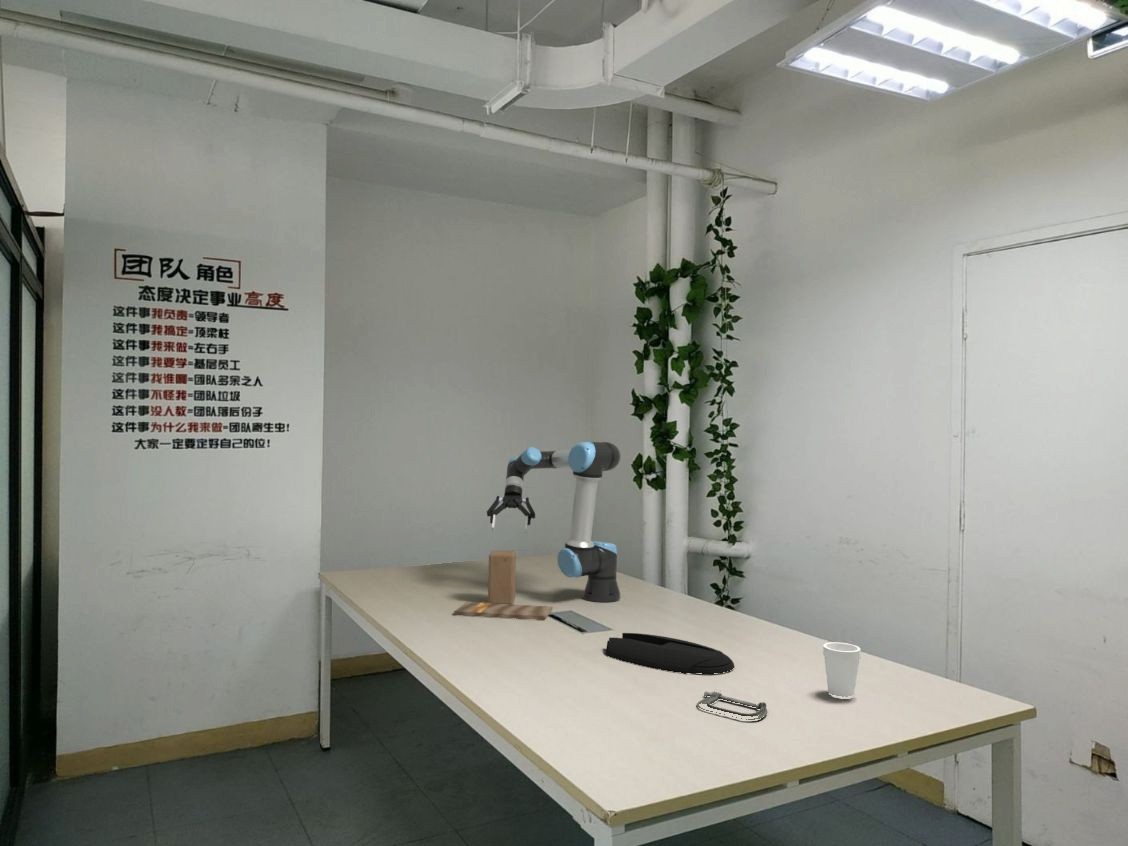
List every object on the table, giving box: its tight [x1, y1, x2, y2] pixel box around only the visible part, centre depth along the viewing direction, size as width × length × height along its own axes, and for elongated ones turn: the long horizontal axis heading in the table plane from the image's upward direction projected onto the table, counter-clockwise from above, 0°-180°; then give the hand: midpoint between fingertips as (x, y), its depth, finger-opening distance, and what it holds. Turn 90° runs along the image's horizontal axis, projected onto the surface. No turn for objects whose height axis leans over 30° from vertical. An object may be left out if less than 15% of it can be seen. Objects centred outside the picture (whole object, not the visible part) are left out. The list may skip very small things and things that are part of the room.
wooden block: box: [487, 549, 517, 605], centre depth 322 cm, size 10×10×20 cm
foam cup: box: [822, 641, 862, 697], centre depth 217 cm, size 10×9×13 cm
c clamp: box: [696, 690, 768, 720], centre depth 207 cm, size 20×17×3 cm
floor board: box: [453, 601, 554, 621], centre depth 304 cm, size 34×16×2 cm, turn 81°
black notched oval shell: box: [605, 632, 735, 674], centre depth 249 cm, size 25×40×5 cm, turn 53°
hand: (509, 530), depth 334 cm, fingers open, 13 cm apart
